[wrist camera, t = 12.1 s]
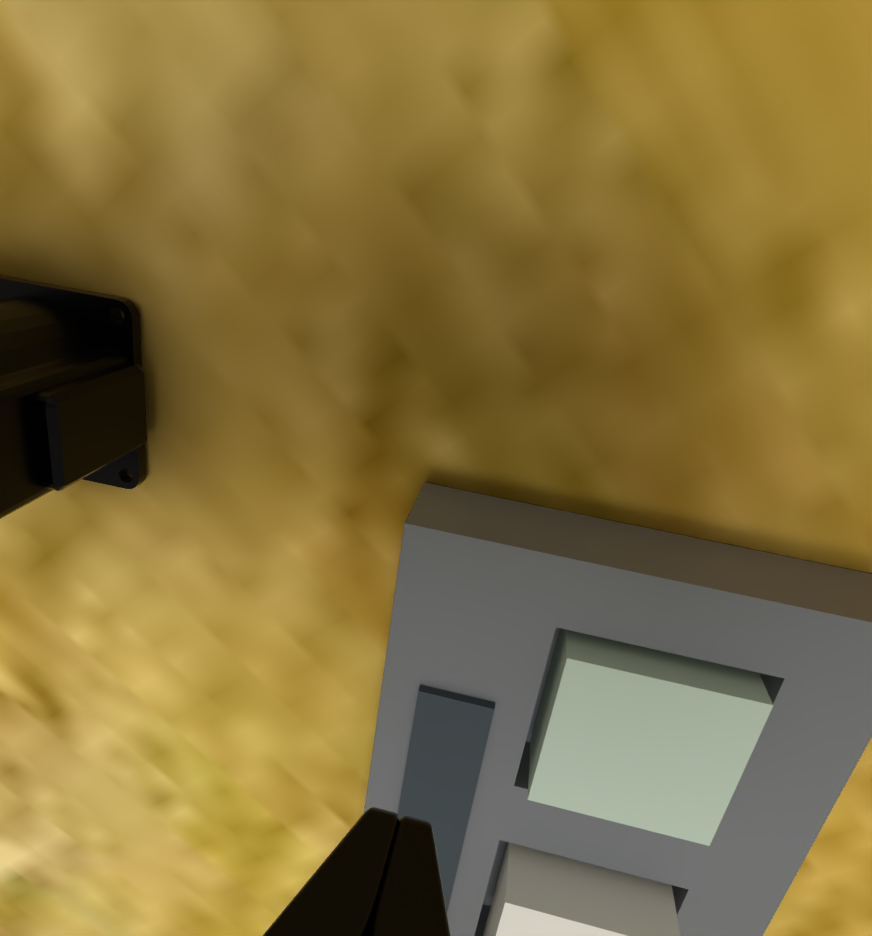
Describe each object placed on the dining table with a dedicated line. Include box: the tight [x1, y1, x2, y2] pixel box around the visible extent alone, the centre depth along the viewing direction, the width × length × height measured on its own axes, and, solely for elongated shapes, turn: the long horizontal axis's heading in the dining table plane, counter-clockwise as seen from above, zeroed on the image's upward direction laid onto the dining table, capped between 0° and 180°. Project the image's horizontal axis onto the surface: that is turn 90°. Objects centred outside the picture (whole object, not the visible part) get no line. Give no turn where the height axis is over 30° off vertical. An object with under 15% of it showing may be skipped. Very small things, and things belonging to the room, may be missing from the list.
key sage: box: [528, 628, 773, 846], centre depth 20 cm, size 6×6×2 cm
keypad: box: [364, 483, 872, 936], centre depth 24 cm, size 14×29×3 cm, turn 172°
